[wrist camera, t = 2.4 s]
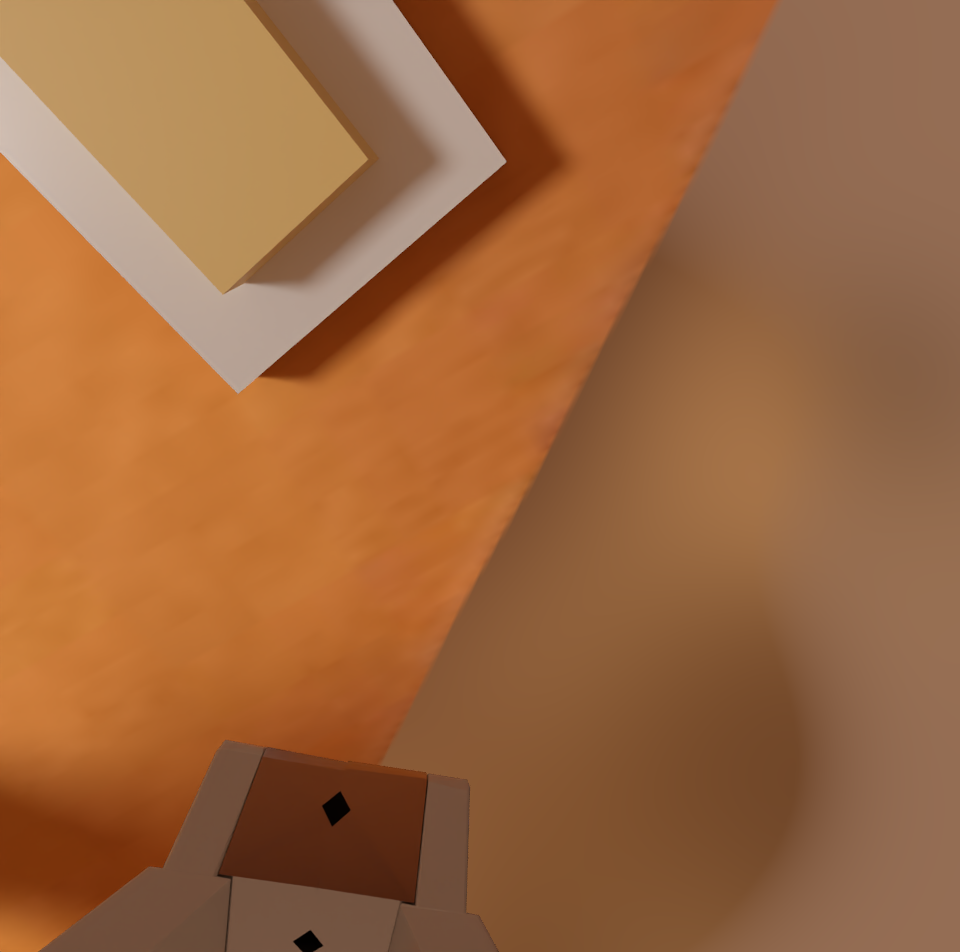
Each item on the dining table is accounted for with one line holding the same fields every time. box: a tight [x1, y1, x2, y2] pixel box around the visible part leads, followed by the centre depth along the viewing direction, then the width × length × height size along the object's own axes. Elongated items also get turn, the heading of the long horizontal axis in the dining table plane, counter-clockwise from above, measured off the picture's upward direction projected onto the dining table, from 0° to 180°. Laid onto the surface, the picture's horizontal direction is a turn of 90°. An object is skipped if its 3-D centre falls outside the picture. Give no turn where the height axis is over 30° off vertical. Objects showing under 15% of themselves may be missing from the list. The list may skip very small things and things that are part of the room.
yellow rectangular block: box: [0, 0, 379, 295], centre depth 19 cm, size 9×6×2 cm, turn 39°
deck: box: [0, 0, 507, 393], centre depth 21 cm, size 12×14×2 cm
